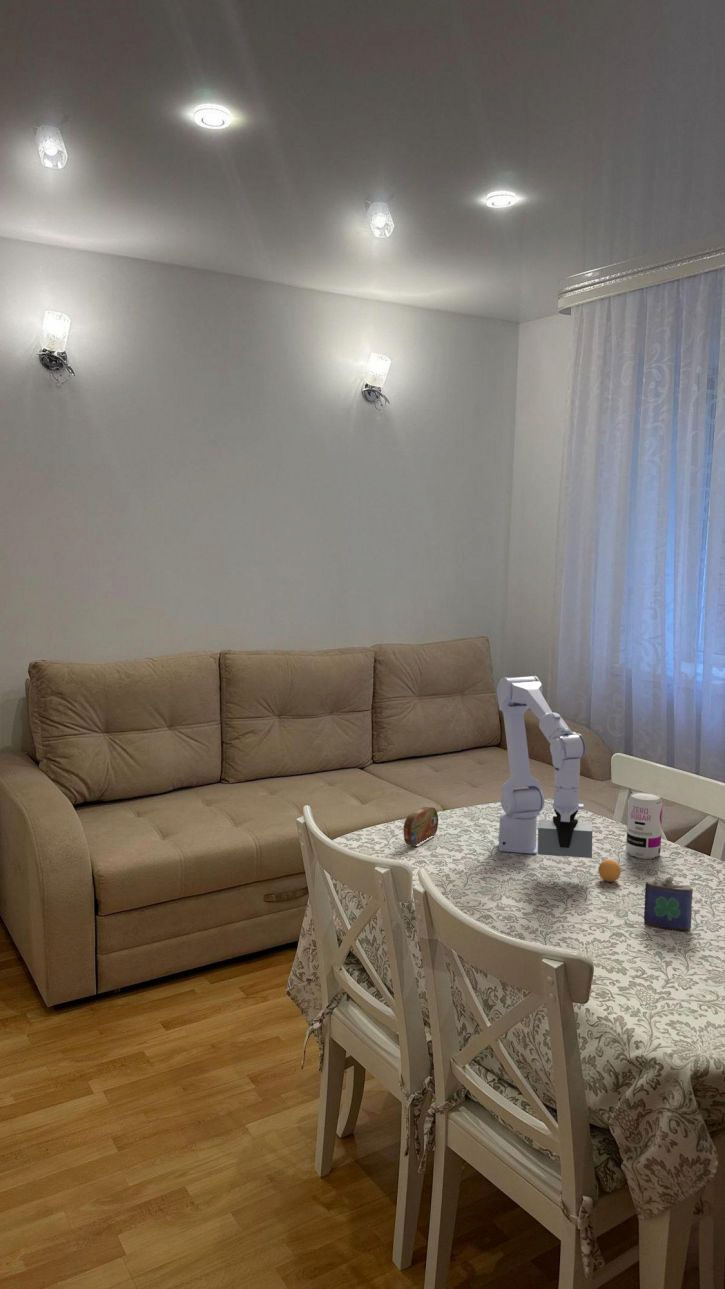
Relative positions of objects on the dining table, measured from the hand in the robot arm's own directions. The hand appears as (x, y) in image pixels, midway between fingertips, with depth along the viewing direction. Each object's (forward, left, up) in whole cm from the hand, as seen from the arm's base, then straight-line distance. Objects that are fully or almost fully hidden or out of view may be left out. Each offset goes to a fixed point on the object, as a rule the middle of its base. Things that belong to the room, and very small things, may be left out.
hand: (564, 842), depth 213 cm
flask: (+21, -23, -9) cm, 32 cm away
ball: (+10, 0, -6) cm, 12 cm away
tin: (-37, +16, -9) cm, 41 cm away
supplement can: (+19, +20, -9) cm, 29 cm away
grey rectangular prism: (0, 0, -2) cm, 2 cm away
